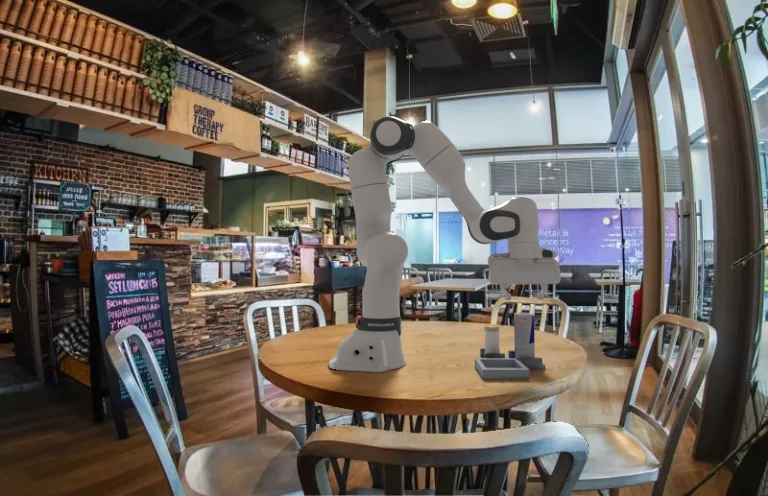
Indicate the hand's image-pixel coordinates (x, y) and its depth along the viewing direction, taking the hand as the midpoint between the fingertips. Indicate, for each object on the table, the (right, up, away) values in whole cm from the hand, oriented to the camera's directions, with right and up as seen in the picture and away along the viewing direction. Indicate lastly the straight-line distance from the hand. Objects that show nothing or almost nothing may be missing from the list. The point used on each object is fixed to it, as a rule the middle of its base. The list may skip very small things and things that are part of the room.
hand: (524, 299), depth 126 cm
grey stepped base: (0, -19, 0) cm, 19 cm away
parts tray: (-9, -19, -9) cm, 23 cm away
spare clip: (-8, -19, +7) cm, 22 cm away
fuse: (-8, -19, +7) cm, 22 cm away
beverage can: (0, -19, 0) cm, 19 cm away
